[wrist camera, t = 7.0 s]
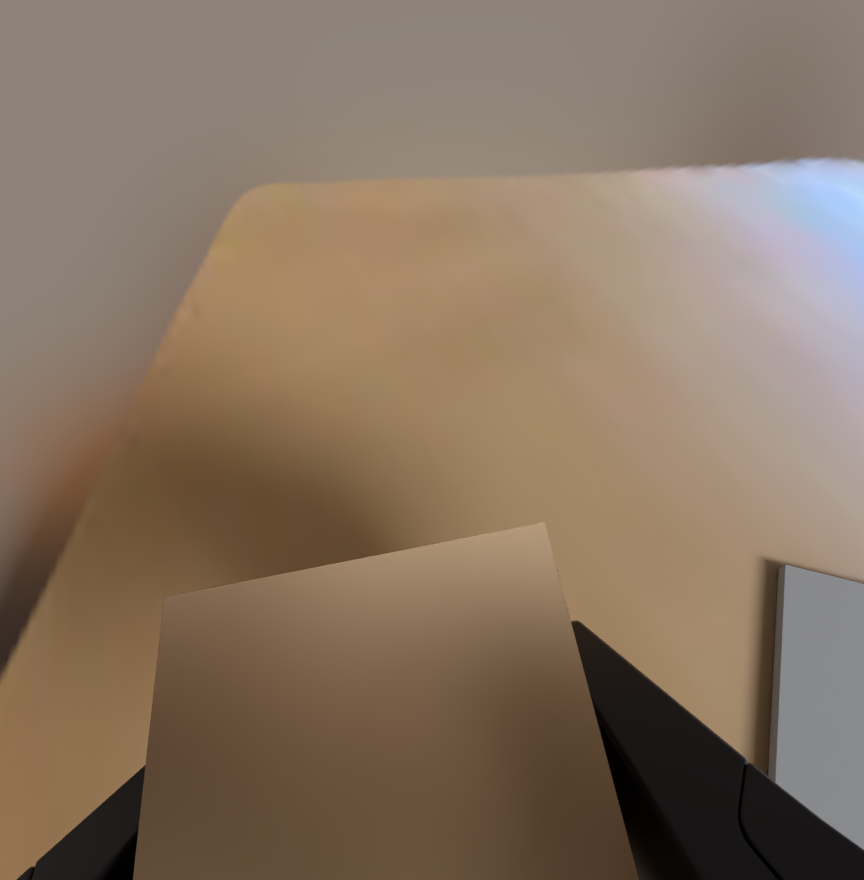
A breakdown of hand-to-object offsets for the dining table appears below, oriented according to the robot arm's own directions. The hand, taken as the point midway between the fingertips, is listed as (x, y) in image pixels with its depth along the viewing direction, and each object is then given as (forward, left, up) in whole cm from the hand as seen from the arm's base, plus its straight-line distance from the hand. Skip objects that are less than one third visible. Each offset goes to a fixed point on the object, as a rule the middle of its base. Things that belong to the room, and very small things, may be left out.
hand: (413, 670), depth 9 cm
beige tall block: (-1, +1, -7) cm, 7 cm away
